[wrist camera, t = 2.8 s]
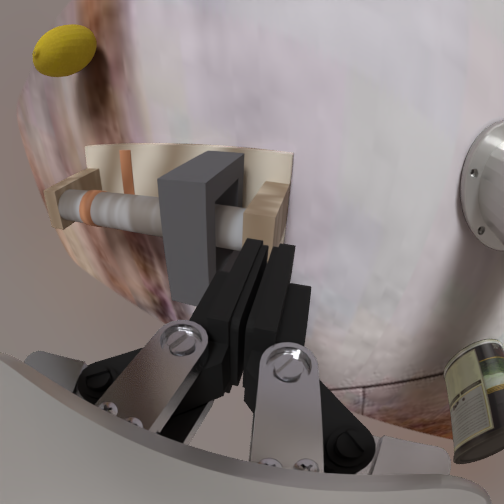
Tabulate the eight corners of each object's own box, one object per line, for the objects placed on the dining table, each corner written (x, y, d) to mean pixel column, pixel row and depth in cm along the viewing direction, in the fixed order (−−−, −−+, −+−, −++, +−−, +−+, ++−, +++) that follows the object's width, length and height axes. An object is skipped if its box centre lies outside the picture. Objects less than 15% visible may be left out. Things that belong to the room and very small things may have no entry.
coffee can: (503, 327, 24) (534, 416, 13) (501, 366, 27) (519, 442, 16) (438, 357, 29) (452, 453, 18) (445, 390, 32) (454, 469, 21)
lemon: (95, 81, 22) (36, 91, 15) (70, 61, 21) (14, 68, 14) (120, 37, 19) (59, 34, 12) (92, 20, 18) (34, 17, 11)
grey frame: (244, 153, 21) (205, 183, 15) (240, 253, 26) (210, 309, 19) (207, 150, 21) (157, 178, 15) (209, 247, 26) (172, 300, 20)
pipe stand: (293, 152, 22) (278, 178, 16) (283, 247, 27) (266, 299, 21) (89, 145, 26) (38, 166, 20) (100, 217, 31) (57, 249, 25)
